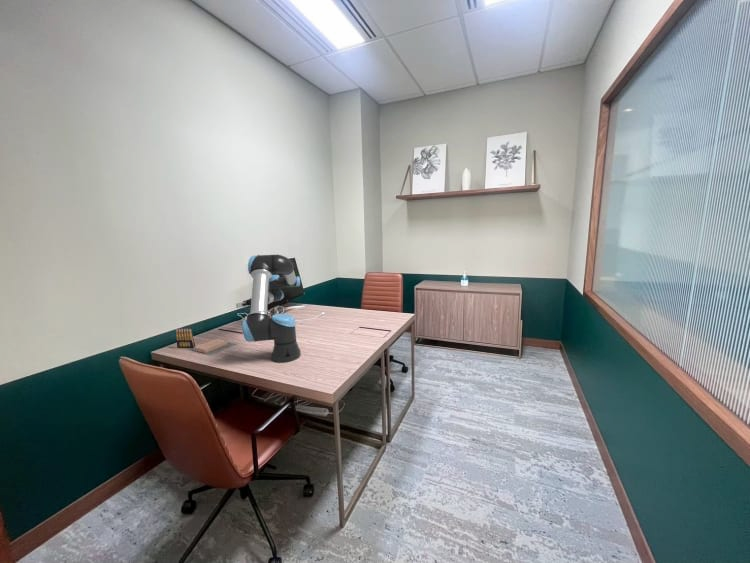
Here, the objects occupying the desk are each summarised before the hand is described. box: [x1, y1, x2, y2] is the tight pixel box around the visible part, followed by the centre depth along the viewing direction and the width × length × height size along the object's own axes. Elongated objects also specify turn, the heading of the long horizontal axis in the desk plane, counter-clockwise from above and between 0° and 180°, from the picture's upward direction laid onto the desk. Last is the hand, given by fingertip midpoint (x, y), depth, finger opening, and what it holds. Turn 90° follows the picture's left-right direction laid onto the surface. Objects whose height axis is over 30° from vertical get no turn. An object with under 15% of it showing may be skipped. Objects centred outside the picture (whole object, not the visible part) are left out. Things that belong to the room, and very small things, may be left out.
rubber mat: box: [188, 341, 238, 356], centre depth 177 cm, size 20×18×1 cm
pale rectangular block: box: [194, 338, 228, 353], centre depth 175 cm, size 10×2×14 cm
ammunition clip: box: [175, 328, 196, 349], centre depth 176 cm, size 11×2×12 cm, turn 82°
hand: (237, 305), depth 187 cm, fingers closed
